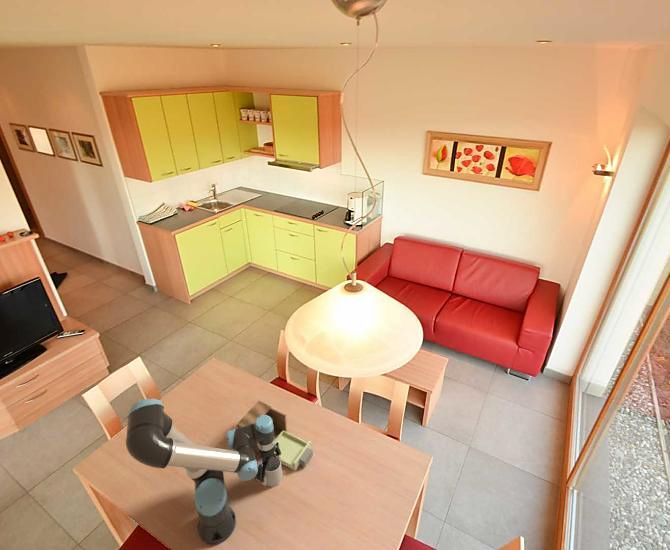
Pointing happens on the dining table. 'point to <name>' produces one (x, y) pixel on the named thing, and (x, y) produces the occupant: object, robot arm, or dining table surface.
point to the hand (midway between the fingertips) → (270, 475)
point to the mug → (273, 472)
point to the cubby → (264, 409)
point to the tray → (293, 450)
